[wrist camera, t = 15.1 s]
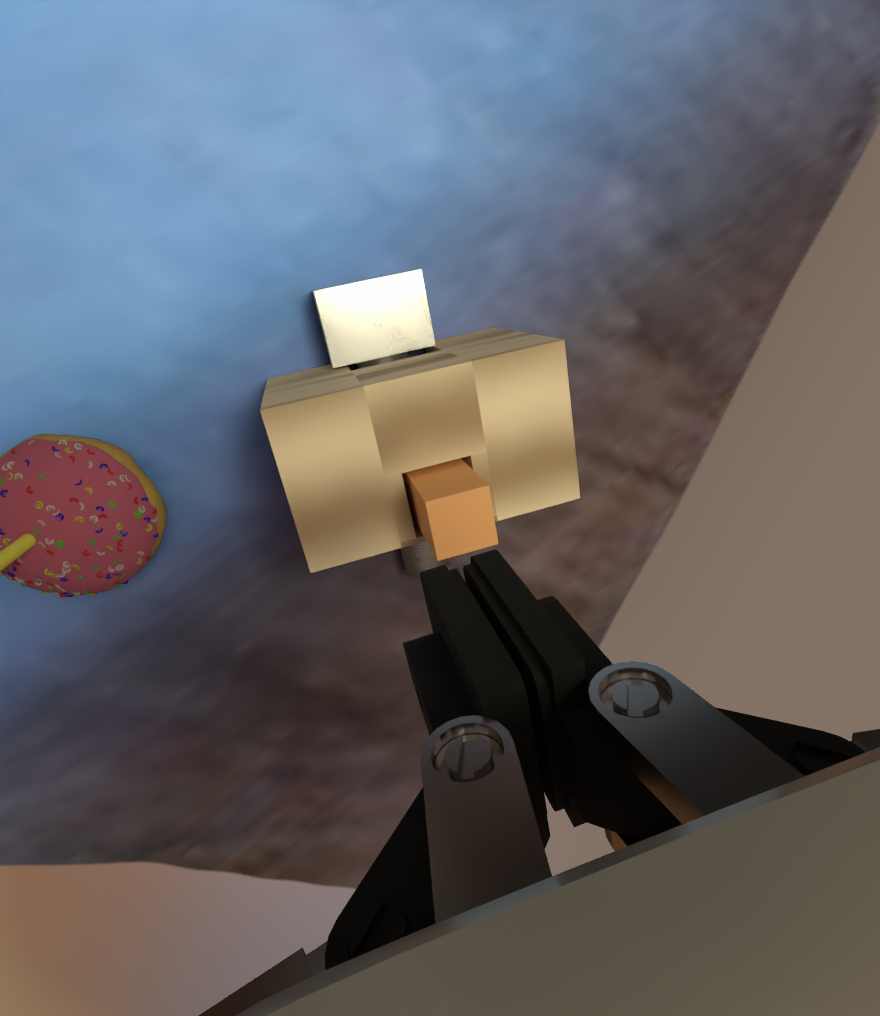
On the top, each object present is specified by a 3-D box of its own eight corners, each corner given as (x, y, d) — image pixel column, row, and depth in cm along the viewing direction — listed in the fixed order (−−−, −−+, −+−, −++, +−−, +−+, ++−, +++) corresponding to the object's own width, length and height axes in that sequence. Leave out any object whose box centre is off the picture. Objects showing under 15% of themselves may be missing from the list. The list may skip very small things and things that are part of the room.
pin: (311, 291, 33) (313, 291, 30) (410, 271, 34) (421, 269, 31) (382, 567, 40) (389, 588, 37) (462, 545, 41) (475, 563, 38)
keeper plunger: (396, 458, 31) (425, 502, 24) (447, 445, 31) (488, 485, 25) (407, 506, 32) (437, 561, 25) (456, 493, 32) (498, 543, 26)
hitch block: (267, 378, 34) (259, 410, 25) (494, 327, 36) (564, 339, 27) (304, 503, 37) (310, 573, 28) (511, 449, 39) (580, 498, 30)
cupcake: (50, 573, 35) (-59, 702, 24) (-18, 437, 31) (-181, 514, 21) (198, 535, 36) (158, 641, 25) (146, 400, 33) (76, 455, 22)
